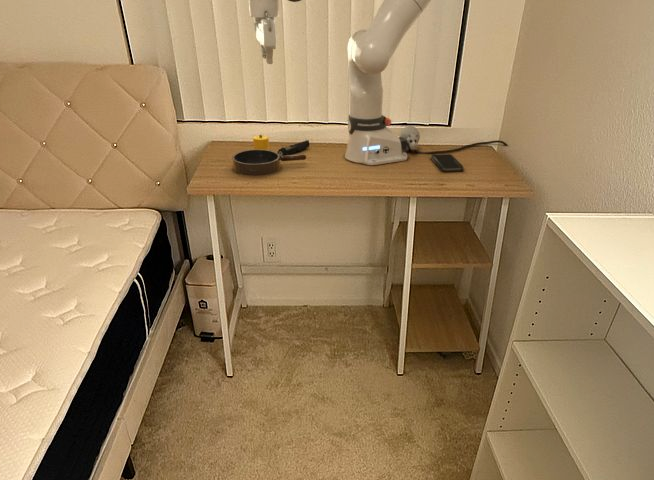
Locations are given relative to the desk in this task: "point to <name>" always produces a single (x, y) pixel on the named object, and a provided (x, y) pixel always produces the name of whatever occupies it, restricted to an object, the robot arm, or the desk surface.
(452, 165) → the phone
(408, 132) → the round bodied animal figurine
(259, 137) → the yellow pepper
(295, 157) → the pan handle
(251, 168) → the pan
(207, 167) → the desk surface
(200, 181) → the desk surface
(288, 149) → the electric trimmer
